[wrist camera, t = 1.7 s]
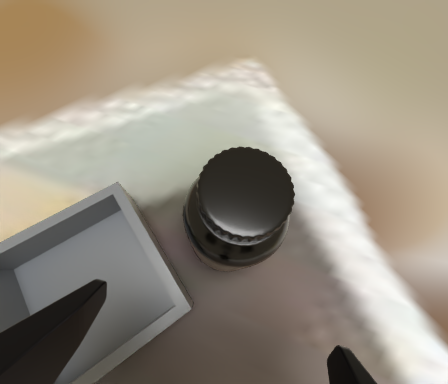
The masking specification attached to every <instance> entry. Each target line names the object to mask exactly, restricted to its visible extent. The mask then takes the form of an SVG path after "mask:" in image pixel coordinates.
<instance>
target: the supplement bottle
mask: <svg viewBox="0 0 448 384" xmlns="http://www.w3.org/2000/svg"><path fill="white" fill-rule="evenodd" d="M293 188H294V185H293V183H292V182H291V177H290V175H289V174H288V173H287V169H286V168H284V167H283V166H282V164H281V162H279V161H277V160H276V159H275V157H273V156H271V155H269V154H268V153H267V152H263V151H260V150H259V149H253V148H250V147H246V148H244V147H238V148H230V149H229V150H223V151H222V152H221V153H219V154H216V155H215V156H214V158H212V159H210V160H209V161H208V164H206V165H205V166H204V167H203V171H202V172H201V173H200V174H199V177H198V178H197V179H196V180H195V181H194V183H193V184H192V185H191V187H190V189H189V190H188V193H187V195H186V198H185V201H184V206H183V221H184V226H185V230H186V233H187V235H188V238H189V240H190V242H191V244H192V247H193V249H194V251H195V253H196V254H197V256H198V257H199V258H200V259H201V260H202V261H203V262H204V263H205V264H206V265H208V266H209V267H211V268H213V269H216V270H219V271H236V270H239V269H243V268H246V267H250V266H253V265H256V264H258V263H260V262H262V261H264V260H266V259H267V258H269V257H270V256H271V255H272V254H274V253H275V252H276V251H277V249H278V248H279V247H280V246H281V244H282V242H283V241H284V239H285V236H286V234H287V231H288V227H289V215H290V214H291V212H292V206H293V205H294V199H293V198H294V196H295V193H294V191H293Z"/></svg>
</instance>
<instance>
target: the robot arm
mask: <svg viewBox="0 0 448 384" xmlns="http://www.w3.org/2000/svg"><path fill="white" fill-rule="evenodd" d="M106 297H107V282H106V281H104V280H100V279H94V280H92V281H91V282H89V283H87V284H85V285H84V286H82V287H80V288H78V289H76V290H75V291H73V292H71V293H69V294H68V295H66V296H64V297H62V298H61V299H59V300H57V301H55V302H53V303H52V304H50V305H48V306H46V307H45V308H43V309H41V310H39V311H38V312H36V313H34V314H32V315H30V316H29V317H27V318H25V319H23V320H22V321H20V322H18V323H16V324H14V325H13V326H11V327H9V328H7V329H6V330H4V331H2V332H0V384H53V383H54V382H55V381H56V379H57V378H58V376H59V375H60V373H61V372H62V371H63V369H64V368H65V366H66V365H67V363H68V362H69V361H70V359H71V358H72V356H73V355H74V353H75V352H76V350H77V349H78V347H79V346H80V344H81V343H82V341H83V339H84V338H85V336H86V334H87V332H88V331H89V329H90V327H91V325H92V324H93V322H94V320H95V318H96V317H97V315H98V313H99V311H100V310H101V308H102V306H103V304H104V302H105V300H106ZM327 367H328V375H329V383H330V384H377V383H376V382H375V380H374V379H373V378H372V376H371V375H370V374H369V373H368V371H367V370H366V369H365V368H364V366H363V365H362V364H361V363H360V361H359V360H358V359H357V357H356V356H355V355H354V354H353V352H352V351H351V350H350V349H349V348H347V347H343V346H340V345H337V346H336V347H335V348H334V350H333V351H332V352H331V354H330V355H329V357H328V359H327Z"/></svg>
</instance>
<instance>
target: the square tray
mask: <svg viewBox="0 0 448 384" xmlns="http://www.w3.org/2000/svg"><path fill="white" fill-rule="evenodd" d="M94 279H100V280H104V281H106V282H107V297H106V300H105V302H104V304H103V306H102V308H101V310H100V311H99V313H98V315H97V317H96V318H95V320H94V322H93V324H92V325H91V327H90V329H89V331H88V332H87V334H86V336H85V338H84V339H83V341H82V343H81V344H80V346H79V347H78V349H77V350H76V352H75V353H74V355H73V356H72V358H71V359H70V361H69V362H68V363H67V365H66V366H65V368H64V369H63V371H62V372H61V373H60V375H59V376H58V378H57V379H56V381H55V382H54V383H53V384H94V383H95V382H96V381H98V380H99V379H100V378H102V377H103V376H104V375H106V374H107V373H108V372H110V371H111V370H112V369H113V368H115V367H116V366H117V365H119V364H120V363H121V362H123V361H124V360H125V359H127V358H128V357H129V356H131V355H132V354H133V353H134V352H136V351H137V350H138V349H140V348H141V347H142V346H144V345H145V344H146V343H148V342H149V341H150V340H152V339H153V338H154V337H155V336H157V335H158V334H159V333H161V332H162V331H163V330H165V329H166V328H167V327H169V326H170V325H171V324H173V323H174V322H175V321H177V320H178V319H179V318H180V317H182V316H183V315H184V314H186V313H187V312H188V311H190V310H191V309H192V306H193V304H194V303H193V301H192V299H191V298H190V296H189V294H188V293H187V291H186V289H185V287H184V286H183V284H182V282H181V281H180V279H179V277H178V275H177V274H176V272H175V270H174V269H173V267H172V265H171V263H170V262H169V260H168V258H167V257H166V255H165V253H164V251H163V250H162V248H161V246H160V245H159V243H158V241H157V240H156V238H155V236H154V234H153V233H152V231H151V229H150V228H149V226H148V224H147V222H146V221H145V219H144V217H143V216H142V214H141V212H140V210H139V209H138V207H137V205H136V204H135V202H134V200H133V198H132V197H131V196H130V195H129V194H128V193H127V192H126V190H125V189H124V188H123V187H122V186H121V185H120V184H119V183H118V182H116V183H115V184H113V185H111V186H109V187H107V188H105V189H103V190H101V191H99V192H97V193H95V194H93V195H91V196H89V197H87V198H85V199H83V200H82V201H80V202H78V203H76V204H74V205H72V206H70V207H68V208H66V209H64V210H62V211H60V212H58V213H56V214H54V215H52V216H50V217H49V218H47V219H45V220H43V221H41V222H39V223H37V224H35V225H33V226H31V227H29V228H27V229H25V230H23V231H21V232H19V233H17V234H16V235H14V236H12V237H10V238H8V239H6V240H4V241H2V242H0V332H2V331H4V330H6V329H7V328H9V327H11V326H13V325H14V324H16V323H18V322H20V321H22V320H23V319H25V318H27V317H29V316H30V315H32V314H34V313H36V312H38V311H39V310H41V309H43V308H45V307H46V306H48V305H50V304H52V303H53V302H55V301H57V300H59V299H61V298H62V297H64V296H66V295H68V294H69V293H71V292H73V291H75V290H76V289H78V288H80V287H82V286H84V285H85V284H87V283H89V282H91V281H92V280H94Z"/></svg>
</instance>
